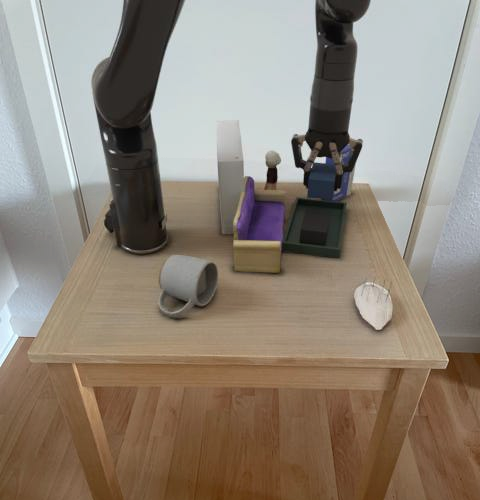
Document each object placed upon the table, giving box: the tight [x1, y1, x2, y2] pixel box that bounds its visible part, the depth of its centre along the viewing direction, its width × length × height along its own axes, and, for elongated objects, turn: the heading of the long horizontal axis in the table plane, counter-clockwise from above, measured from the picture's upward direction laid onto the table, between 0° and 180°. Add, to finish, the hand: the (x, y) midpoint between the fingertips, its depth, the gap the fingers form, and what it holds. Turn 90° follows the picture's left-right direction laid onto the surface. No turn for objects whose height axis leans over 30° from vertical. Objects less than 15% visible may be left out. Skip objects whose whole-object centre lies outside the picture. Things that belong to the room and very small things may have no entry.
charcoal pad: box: [299, 210, 330, 246], centre depth 98 cm, size 8×5×4 cm, turn 167°
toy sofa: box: [232, 175, 287, 274], centre depth 95 cm, size 21×9×10 cm, turn 173°
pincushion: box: [353, 277, 394, 331], centre depth 81 cm, size 12×6×6 cm, turn 178°
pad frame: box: [281, 196, 348, 259], centre depth 102 cm, size 19×11×2 cm, turn 167°
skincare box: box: [216, 119, 245, 235], centre depth 104 cm, size 21×5×16 cm, turn 3°
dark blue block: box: [306, 161, 336, 200], centre depth 100 cm, size 8×5×4 cm, turn 167°
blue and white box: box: [320, 144, 357, 202], centre depth 109 cm, size 8×3×12 cm, turn 133°
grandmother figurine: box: [263, 149, 282, 190], centre depth 106 cm, size 8×4×13 cm, turn 178°
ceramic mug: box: [157, 254, 219, 319], centre depth 82 cm, size 11×8×8 cm
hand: (321, 188), depth 101 cm, fingers closed on dark blue block, 5 cm apart
